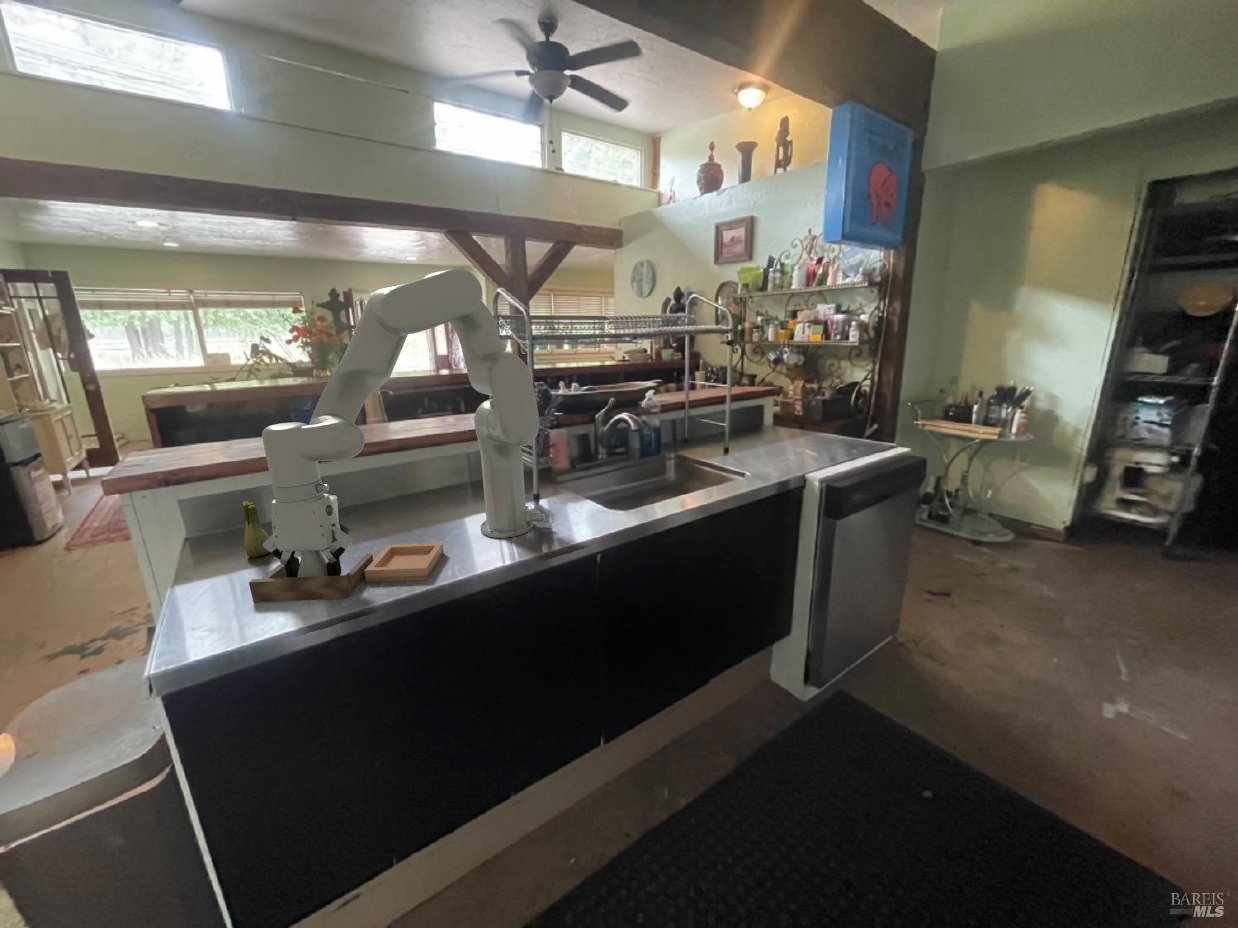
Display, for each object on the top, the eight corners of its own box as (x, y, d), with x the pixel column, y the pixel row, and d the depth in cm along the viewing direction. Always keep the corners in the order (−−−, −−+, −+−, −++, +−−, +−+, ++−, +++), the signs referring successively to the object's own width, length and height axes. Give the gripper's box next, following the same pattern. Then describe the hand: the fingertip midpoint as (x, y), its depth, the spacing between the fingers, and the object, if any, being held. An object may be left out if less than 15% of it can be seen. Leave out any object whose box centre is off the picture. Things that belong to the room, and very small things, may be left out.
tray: (443, 553, 108) (442, 543, 107) (427, 579, 97) (425, 568, 96) (389, 555, 107) (387, 544, 107) (366, 582, 96) (364, 570, 95)
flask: (306, 576, 98) (297, 529, 96) (344, 574, 99) (336, 528, 96) (286, 595, 92) (275, 545, 89) (327, 593, 92) (317, 543, 89)
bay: (374, 567, 102) (371, 549, 101) (346, 598, 90) (343, 578, 89) (292, 570, 101) (288, 552, 100) (253, 602, 89) (248, 582, 88)
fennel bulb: (250, 551, 110) (239, 500, 107) (276, 547, 112) (266, 496, 109) (244, 561, 105) (231, 508, 102) (271, 557, 107) (260, 505, 104)
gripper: (356, 483, 94) (370, 568, 99) (262, 486, 93) (280, 571, 98) (337, 496, 87) (353, 587, 92) (235, 499, 86) (256, 591, 91)
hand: (315, 578), depth 95 cm, fingers closed on flask, 6 cm apart
